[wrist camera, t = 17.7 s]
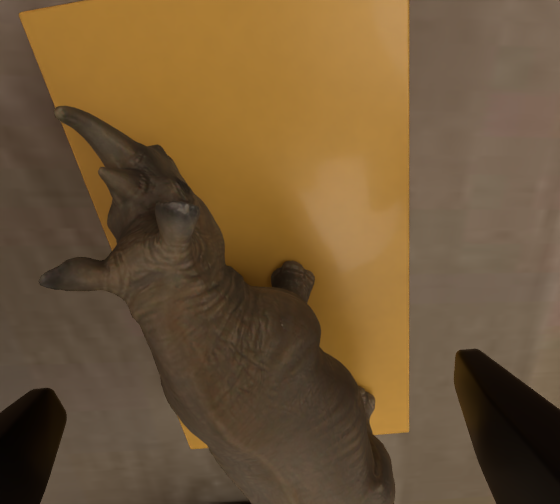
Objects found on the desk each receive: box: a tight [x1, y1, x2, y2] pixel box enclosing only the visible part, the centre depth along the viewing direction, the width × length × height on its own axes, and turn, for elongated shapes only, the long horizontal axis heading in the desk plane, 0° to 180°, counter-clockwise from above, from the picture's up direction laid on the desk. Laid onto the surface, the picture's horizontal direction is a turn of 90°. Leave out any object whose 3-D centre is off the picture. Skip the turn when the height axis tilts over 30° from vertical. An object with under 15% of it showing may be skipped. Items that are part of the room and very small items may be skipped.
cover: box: [19, 0, 409, 449], centre depth 13 cm, size 9×16×1 cm, turn 8°
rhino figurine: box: [39, 106, 395, 504], centre depth 11 cm, size 4×14×6 cm, turn 27°
